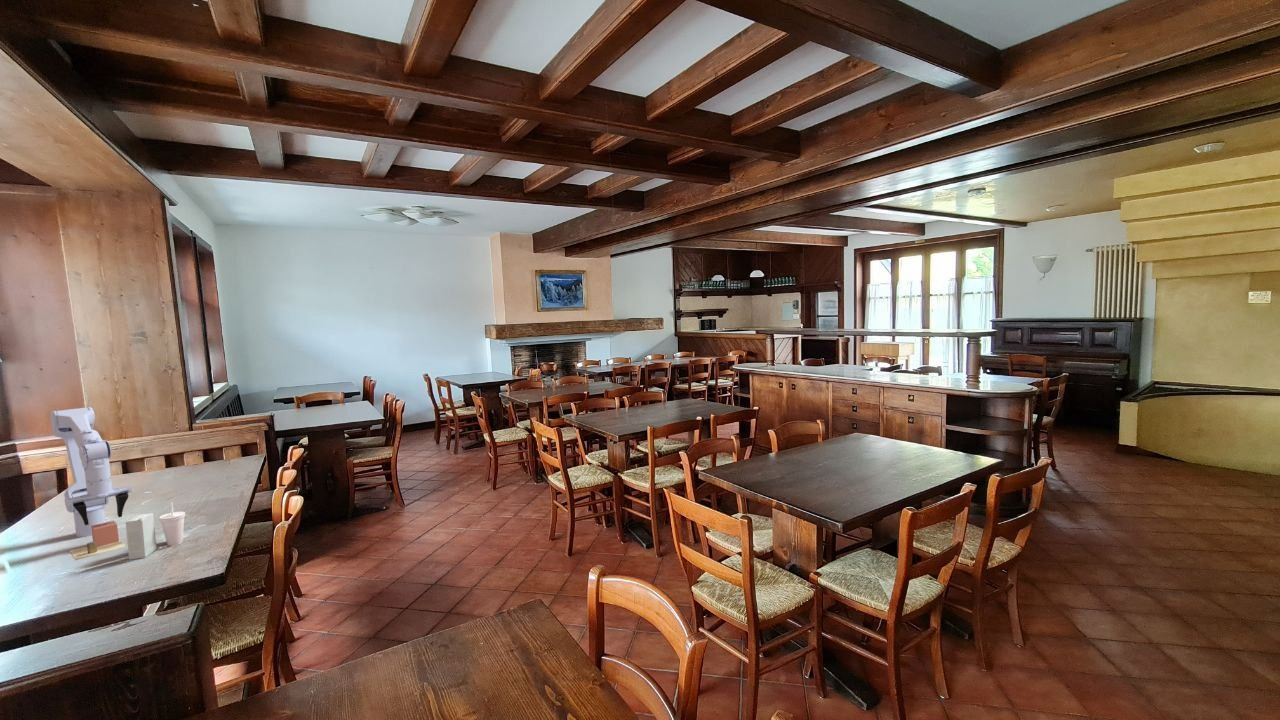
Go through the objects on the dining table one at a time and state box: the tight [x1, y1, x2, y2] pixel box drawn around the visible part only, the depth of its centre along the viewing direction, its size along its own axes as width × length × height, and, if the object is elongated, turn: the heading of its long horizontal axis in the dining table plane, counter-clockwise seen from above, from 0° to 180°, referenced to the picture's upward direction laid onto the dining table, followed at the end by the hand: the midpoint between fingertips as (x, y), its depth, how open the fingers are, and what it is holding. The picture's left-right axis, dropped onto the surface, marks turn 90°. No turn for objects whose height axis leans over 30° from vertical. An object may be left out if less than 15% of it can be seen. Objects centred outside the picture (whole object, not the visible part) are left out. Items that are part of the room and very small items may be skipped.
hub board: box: [68, 539, 127, 561], centre depth 166 cm, size 13×11×4 cm
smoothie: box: [158, 501, 186, 547], centre depth 169 cm, size 6×6×14 cm
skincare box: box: [125, 512, 158, 560], centre depth 161 cm, size 6×4×12 cm
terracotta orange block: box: [91, 520, 120, 547], centre depth 170 cm, size 5×5×6 cm
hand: (103, 520), depth 169 cm, fingers open, 7 cm apart
